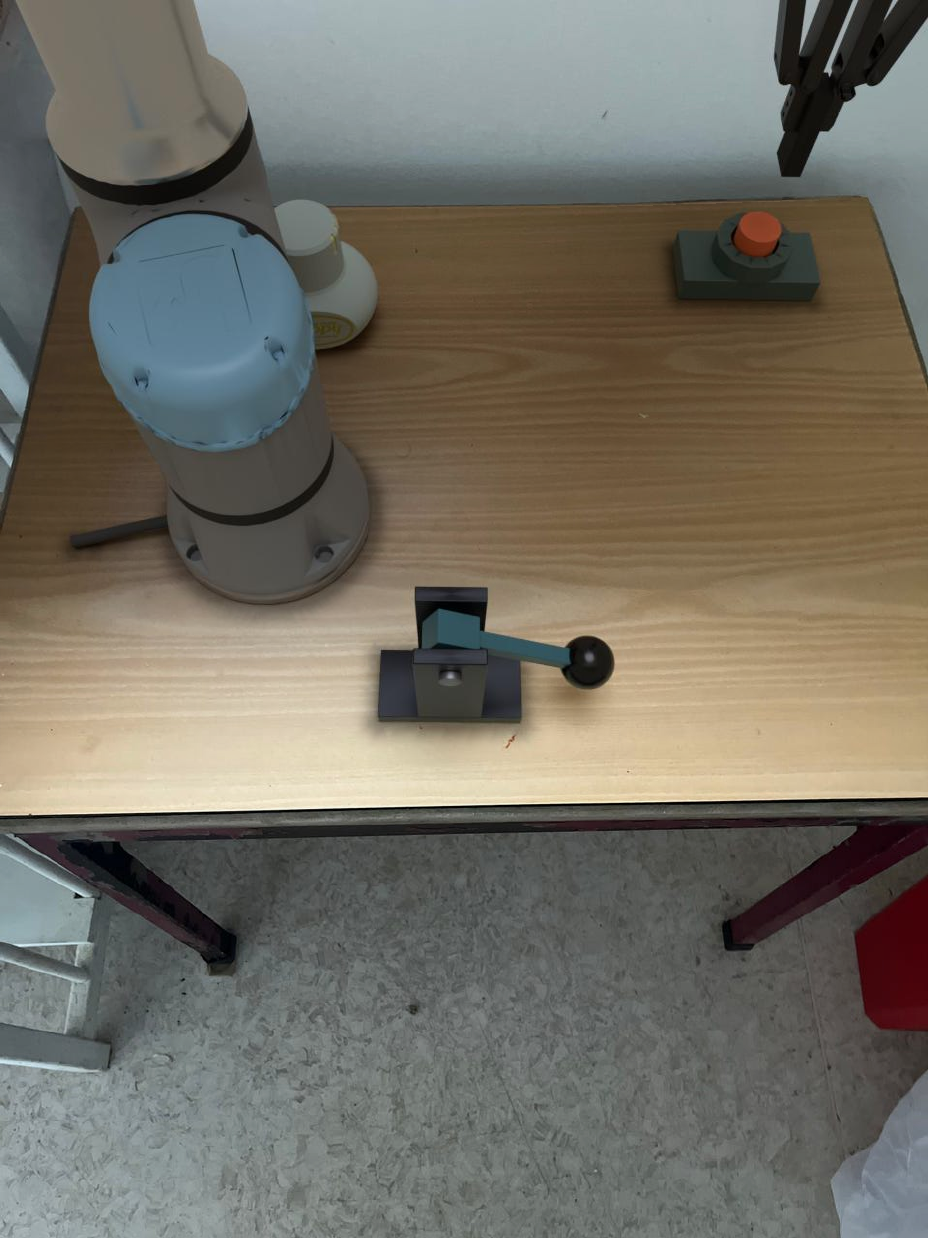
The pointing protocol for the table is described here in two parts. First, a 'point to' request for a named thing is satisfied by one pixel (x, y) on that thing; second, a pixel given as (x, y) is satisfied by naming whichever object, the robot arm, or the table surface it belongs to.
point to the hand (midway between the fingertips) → (788, 164)
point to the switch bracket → (449, 671)
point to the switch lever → (523, 648)
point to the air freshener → (327, 272)
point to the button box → (744, 266)
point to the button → (757, 234)
